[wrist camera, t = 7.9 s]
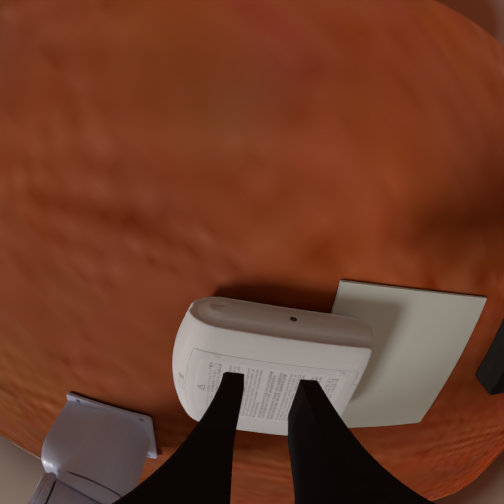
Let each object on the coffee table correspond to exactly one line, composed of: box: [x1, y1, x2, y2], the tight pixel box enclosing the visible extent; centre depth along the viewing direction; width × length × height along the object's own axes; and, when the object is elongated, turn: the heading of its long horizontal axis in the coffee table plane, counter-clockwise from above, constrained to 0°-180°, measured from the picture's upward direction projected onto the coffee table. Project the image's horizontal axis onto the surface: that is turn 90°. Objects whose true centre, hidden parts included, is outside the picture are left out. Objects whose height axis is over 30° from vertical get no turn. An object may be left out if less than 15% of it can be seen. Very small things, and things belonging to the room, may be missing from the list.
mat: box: [331, 280, 487, 428], centre depth 22 cm, size 14×15×1 cm
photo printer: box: [172, 297, 374, 436], centre depth 20 cm, size 10×4×12 cm
